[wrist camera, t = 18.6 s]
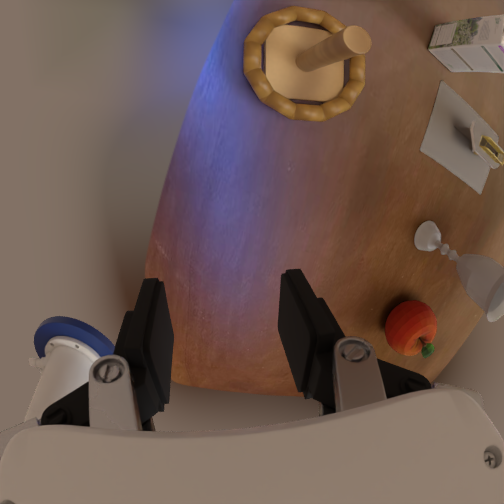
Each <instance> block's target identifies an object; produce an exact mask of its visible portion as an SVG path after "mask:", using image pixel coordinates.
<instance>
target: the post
mask: <svg viewBox="0 0 504 504" xmlns="http://www.w3.org/2000/svg"><path fill="white" fill-rule="evenodd" d="M370 48H371V38H370V36H369V34H368V33H367V32H366V31H365V30H364V29H363V28H361V27H359V26H354V25H352V26H348V27H346V28H344V29H342V30H340V31H339V32H337V33H335V34H332V33H331V32H330V31H326V30H320V29H314V28H307V27H300V26H292V25H281V26H278V27H276V28H274V29H273V30H272V32H271V33H270V34H269V36H268V37H267V39H266V40H265V41H264V74H265V76H266V77H267V79H268V81H269V82H270V84H271V86H272V88H273V89H274V90H275V91H276V92H278V93H280V94H281V95H283V96H284V97H286V98H288V99H292V100H306V101H316V102H328V101H330V100H332V99H334V98H337V97H338V96H339V95H340V93H341V92H342V90H343V89H344V60H345V59H348V58H351V57H355V56H358V55H361V54H364V53H367V52H368V51H369V50H370Z"/></svg>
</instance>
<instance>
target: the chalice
mask: <svg viewBox="0 0 504 504" xmlns="http://www.w3.org/2000/svg"><path fill="white" fill-rule="evenodd" d="M414 241H415V246H416V247H417V248H418V249H419V250H425V251H433V250H435V249H436V248H439V249H440V250H441V254H443V255H444V254H447V255H448V257H449V259H450V260H454V261H456V262H457V266H456V269H457V272H458V274H459V277H460V280H461V282H462V285H463V287H464V289H465V290H466V292H467V294H468V296H469V297H470V298H471V299H472V300H474V301H475V302H476V303H477V304H478V305H479V306H480V307H481V308H482V309H483V310H484V311H485V313H486V316H487V319H488V320H489V321H490V322H494V321H496V320H498V319H499V318H500V317H501V316H502V315H503V314H504V267H503V266H501V265H500V264H499V263H497V262H496V261H495V260H493V259H492V258H490V257H487V256H482V255H476V254H464V255H462V256H461V257H459V256H458V255H457V254H456V251H455V250H450V249H449V246H448V244H442V243H441V234H440V231H439V230H438V228H437V226H436V224H435V223H434V222H432V221H426V222H424V223H423V224H421V225H420V226H419V228H418V229H417V231H416V234H415V239H414Z"/></svg>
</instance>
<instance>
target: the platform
mask: <svg viewBox="0 0 504 504" xmlns="http://www.w3.org/2000/svg"><path fill="white" fill-rule="evenodd" d="M498 139H499V136H498V135H497V134H496V133H495V132H494V131H493V129H492V128H491V127H490V126H489V125H488V124H487V123H486V122H485V121H484V120H483V119H482V118H481V117H480V116H479V114H478V113H477V112H476V111H475V110H474V109H473V108H472V107H471V106H470V105H468V104H467V103H466V102H465V101H464V100H463V99H462V98H461V97H460V96H459V95H458V94H457V93H456V92H455V91H453V90H452V89H451V88H450V87H449V86H448V85H447V84H445V83H444V82H443V81H442V80H441V83H440V87H439V90H438V94H437V97H436V101H435V104H434V108H433V111H432V114H431V118H430V121H429V124H428V127H427V130H426V133H425V136H424V139H423V142H422V145H421V148H420V151H422V152H423V153H425V154H426V155H428V156H429V157H431V158H432V159H434V160H435V161H437V162H438V163H440V164H441V165H442V166H444V167H445V168H447V169H448V170H449V171H451V172H452V173H453V174H455V175H456V176H457V177H459V178H460V179H461V180H463V181H464V182H465V183H467V184H468V185H469V186H470V187H472V188H473V189H474V190H475V191H477V192H478V193H479V194H480V195H481V192H482V190H483V187H484V184H485V181H486V179H487V176H488V173H489V170H490V167H491V168H493V169H497V168H498V166H499V165H500V164H501V165H503V164H502V162H503V163H504V161H503V159H504V150H503V149H502V148H501V147H500V146H499V145H498V144H497V143H498ZM494 154H495V155H494Z"/></svg>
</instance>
